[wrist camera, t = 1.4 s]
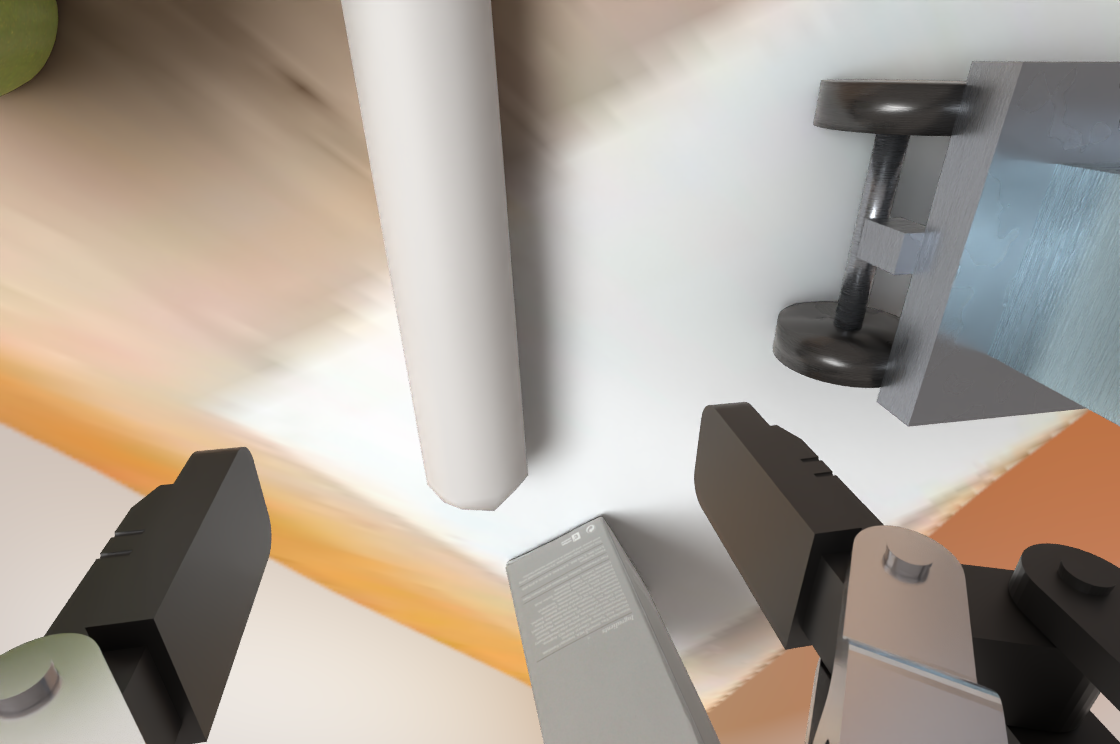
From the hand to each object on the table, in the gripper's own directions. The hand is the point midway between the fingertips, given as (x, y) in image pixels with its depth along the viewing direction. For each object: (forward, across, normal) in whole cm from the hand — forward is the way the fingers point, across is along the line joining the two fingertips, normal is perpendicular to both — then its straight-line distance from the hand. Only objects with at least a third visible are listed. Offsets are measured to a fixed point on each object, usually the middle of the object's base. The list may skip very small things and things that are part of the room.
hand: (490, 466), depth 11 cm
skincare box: (+17, -6, +21) cm, 28 cm away
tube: (+17, 0, 0) cm, 17 cm away
